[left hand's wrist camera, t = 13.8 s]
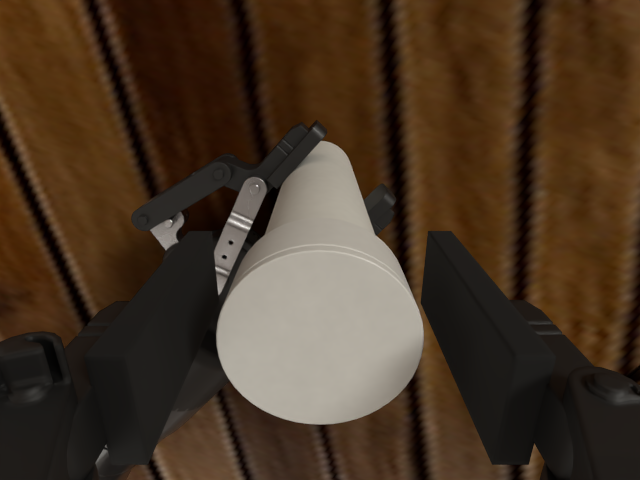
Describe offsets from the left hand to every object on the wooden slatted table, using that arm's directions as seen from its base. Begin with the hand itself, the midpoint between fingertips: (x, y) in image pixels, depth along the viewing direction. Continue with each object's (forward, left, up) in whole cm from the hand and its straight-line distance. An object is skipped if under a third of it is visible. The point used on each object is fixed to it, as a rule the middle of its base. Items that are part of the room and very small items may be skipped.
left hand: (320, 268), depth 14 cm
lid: (0, 0, +4) cm, 4 cm away
